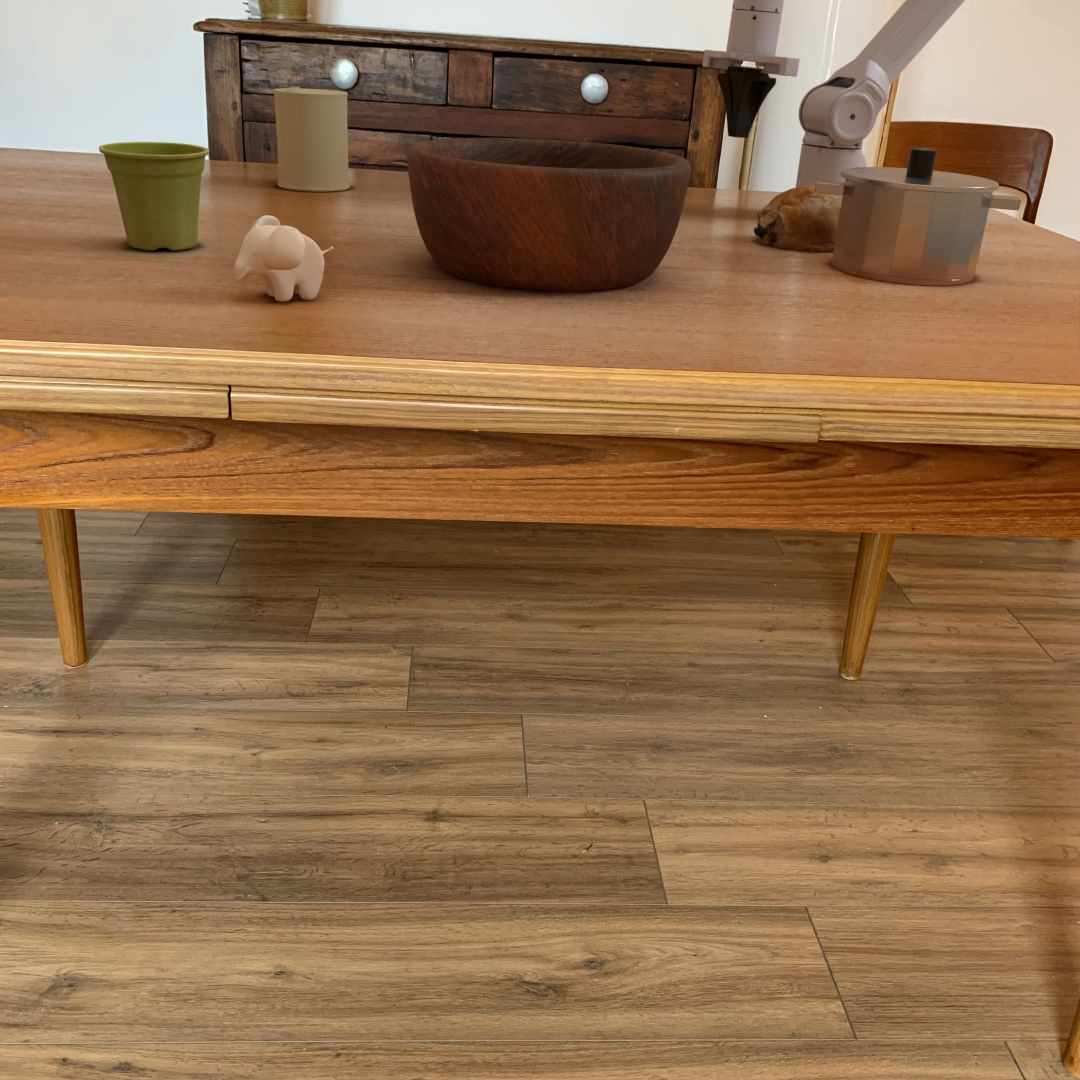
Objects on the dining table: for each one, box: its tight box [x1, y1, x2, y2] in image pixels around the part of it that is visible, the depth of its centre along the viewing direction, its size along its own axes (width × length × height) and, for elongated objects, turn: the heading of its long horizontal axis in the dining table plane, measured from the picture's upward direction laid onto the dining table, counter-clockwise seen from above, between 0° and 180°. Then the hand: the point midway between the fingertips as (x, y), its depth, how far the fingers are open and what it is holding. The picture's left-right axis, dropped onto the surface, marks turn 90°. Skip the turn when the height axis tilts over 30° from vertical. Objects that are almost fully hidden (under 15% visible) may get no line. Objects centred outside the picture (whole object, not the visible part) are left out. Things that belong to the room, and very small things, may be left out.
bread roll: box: [753, 186, 842, 253], centre depth 119 cm, size 10×10×8 cm
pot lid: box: [841, 147, 1000, 193], centre depth 105 cm, size 15×15×4 cm
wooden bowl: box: [406, 137, 692, 291], centre depth 98 cm, size 25×25×10 cm
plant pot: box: [98, 141, 210, 252], centre depth 100 cm, size 9×9×9 cm
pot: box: [815, 179, 1022, 286], centre depth 107 cm, size 14×19×8 cm
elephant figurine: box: [230, 214, 334, 303], centre depth 84 cm, size 7×8×6 cm
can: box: [273, 86, 351, 193], centre depth 139 cm, size 9×9×12 cm
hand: (737, 137), depth 132 cm, fingers closed
